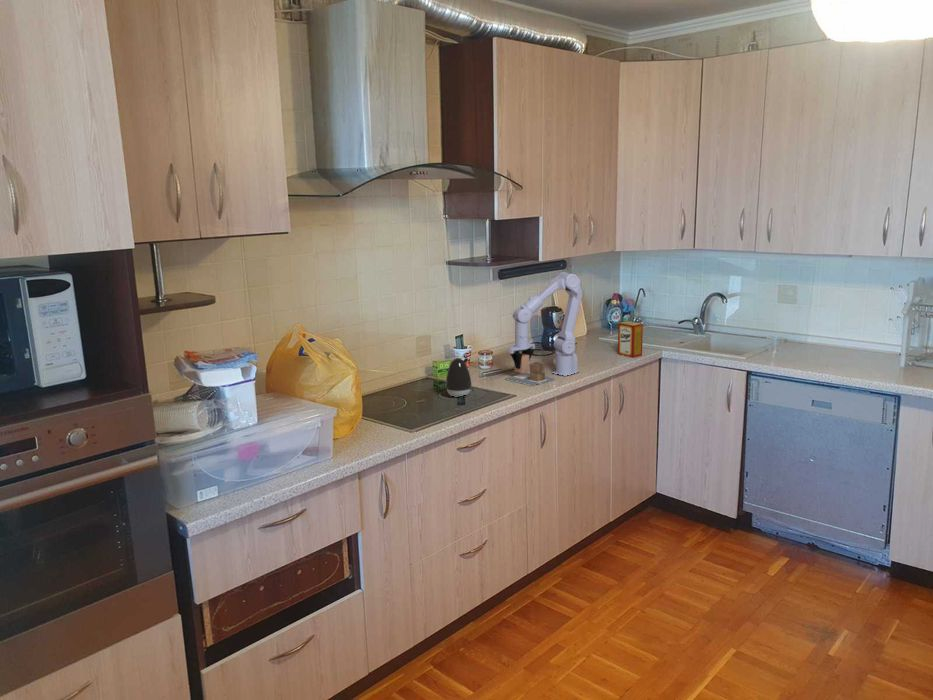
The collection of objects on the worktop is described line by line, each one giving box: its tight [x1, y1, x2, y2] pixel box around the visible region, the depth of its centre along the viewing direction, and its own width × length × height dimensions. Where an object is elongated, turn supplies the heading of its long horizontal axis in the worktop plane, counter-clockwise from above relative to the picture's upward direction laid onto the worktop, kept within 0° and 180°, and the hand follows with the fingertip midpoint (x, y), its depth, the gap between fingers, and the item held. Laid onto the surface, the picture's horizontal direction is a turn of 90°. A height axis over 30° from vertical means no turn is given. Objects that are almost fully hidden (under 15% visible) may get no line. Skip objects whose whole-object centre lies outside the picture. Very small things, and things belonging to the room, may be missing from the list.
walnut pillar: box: [529, 361, 546, 382], centre depth 298 cm, size 4×4×7 cm
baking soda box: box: [617, 320, 644, 359], centre depth 341 cm, size 10×6×16 cm
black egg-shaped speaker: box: [445, 358, 472, 398], centre depth 279 cm, size 10×10×15 cm
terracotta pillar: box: [513, 354, 530, 374], centre depth 304 cm, size 4×4×7 cm
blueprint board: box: [504, 371, 556, 385], centre depth 302 cm, size 14×16×1 cm
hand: (521, 367), depth 304 cm, fingers closed on terracotta pillar, 4 cm apart
